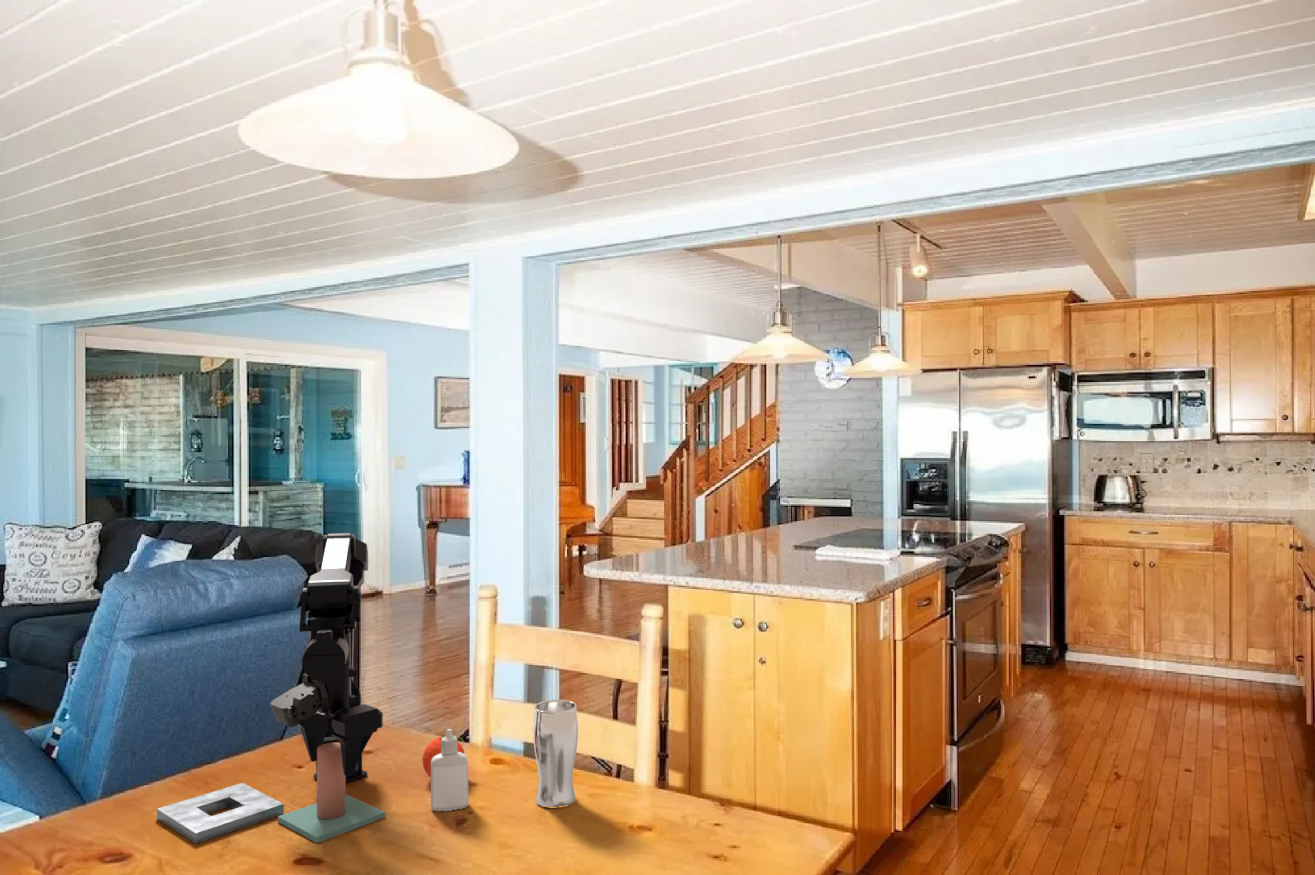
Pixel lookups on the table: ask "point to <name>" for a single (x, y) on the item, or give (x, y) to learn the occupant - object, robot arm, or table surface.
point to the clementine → (435, 752)
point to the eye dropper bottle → (449, 777)
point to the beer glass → (555, 751)
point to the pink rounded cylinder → (330, 782)
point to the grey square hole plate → (201, 826)
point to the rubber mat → (330, 820)
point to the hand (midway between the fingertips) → (331, 768)
